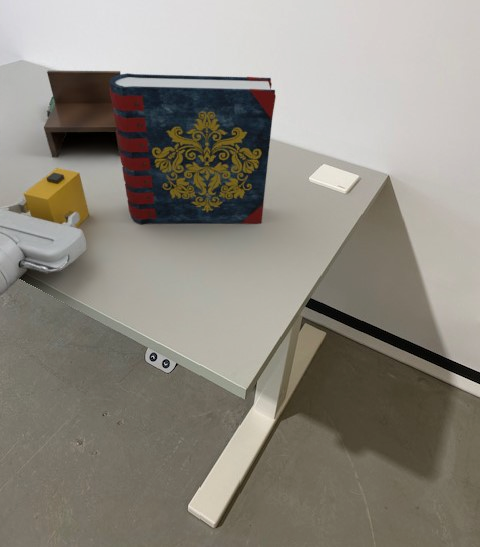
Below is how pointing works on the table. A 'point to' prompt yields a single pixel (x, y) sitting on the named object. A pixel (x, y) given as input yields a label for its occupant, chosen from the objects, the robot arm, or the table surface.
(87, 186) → the table surface
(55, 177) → the tape measure
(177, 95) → the book
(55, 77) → the shelf
